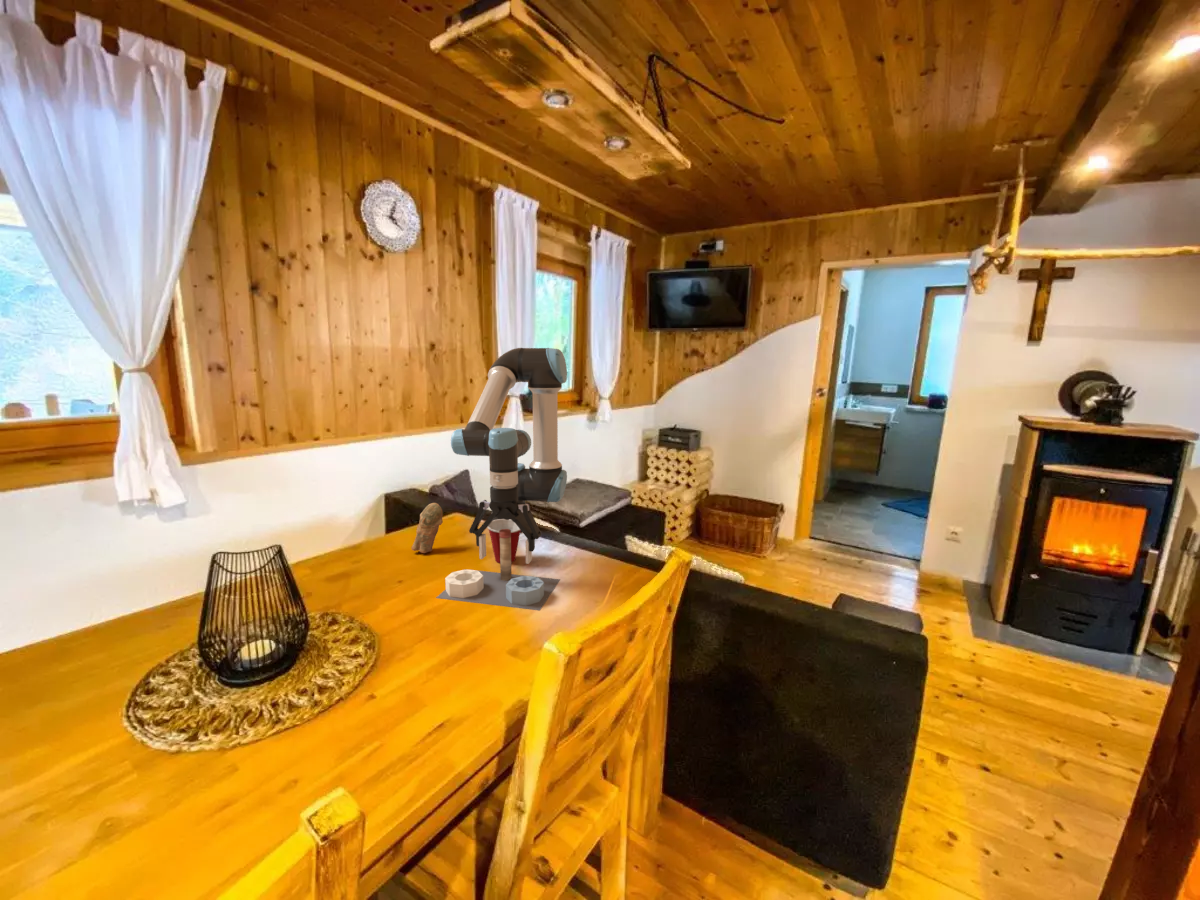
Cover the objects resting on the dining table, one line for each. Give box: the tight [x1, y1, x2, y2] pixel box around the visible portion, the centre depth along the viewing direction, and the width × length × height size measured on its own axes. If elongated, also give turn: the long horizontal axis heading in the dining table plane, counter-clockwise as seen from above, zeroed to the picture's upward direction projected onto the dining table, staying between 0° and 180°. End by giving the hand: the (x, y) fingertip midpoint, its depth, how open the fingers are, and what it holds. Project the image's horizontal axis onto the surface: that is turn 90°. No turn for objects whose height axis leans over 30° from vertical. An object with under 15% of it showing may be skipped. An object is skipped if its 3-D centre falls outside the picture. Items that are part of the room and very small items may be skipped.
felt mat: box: [435, 569, 561, 611], centre depth 133 cm, size 18×28×1 cm, turn 78°
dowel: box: [499, 529, 512, 581], centre depth 138 cm, size 3×3×14 cm
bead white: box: [444, 568, 484, 598], centre depth 132 cm, size 9×9×4 cm
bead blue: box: [506, 575, 544, 606], centre depth 129 cm, size 9×9×4 cm
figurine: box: [411, 502, 444, 554], centre depth 158 cm, size 8×8×15 cm
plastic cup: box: [486, 519, 522, 564], centre depth 151 cm, size 11×11×12 cm
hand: (505, 559), depth 138 cm, fingers open, 13 cm apart
